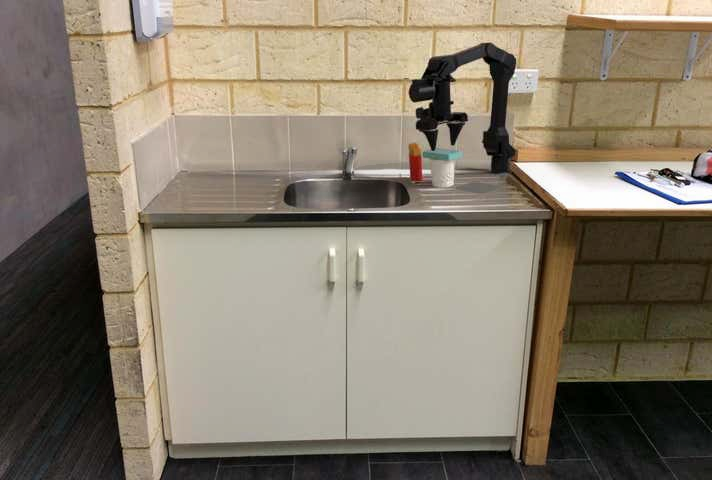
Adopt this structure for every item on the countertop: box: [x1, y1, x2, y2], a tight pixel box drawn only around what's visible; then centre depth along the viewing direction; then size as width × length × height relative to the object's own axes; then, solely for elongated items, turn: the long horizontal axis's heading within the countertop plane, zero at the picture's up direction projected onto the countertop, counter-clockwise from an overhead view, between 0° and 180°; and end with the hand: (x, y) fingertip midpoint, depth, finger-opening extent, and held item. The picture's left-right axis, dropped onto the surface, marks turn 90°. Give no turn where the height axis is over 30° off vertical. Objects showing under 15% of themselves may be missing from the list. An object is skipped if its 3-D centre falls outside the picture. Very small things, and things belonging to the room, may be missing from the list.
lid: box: [422, 147, 463, 161], centre depth 194 cm, size 6×11×2 cm, turn 41°
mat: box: [453, 181, 505, 195], centre depth 191 cm, size 10×12×1 cm
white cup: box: [429, 159, 455, 188], centre depth 196 cm, size 8×8×10 cm
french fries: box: [407, 142, 423, 183], centre depth 207 cm, size 9×4×13 cm, turn 175°
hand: (443, 148), depth 193 cm, fingers open, 9 cm apart
